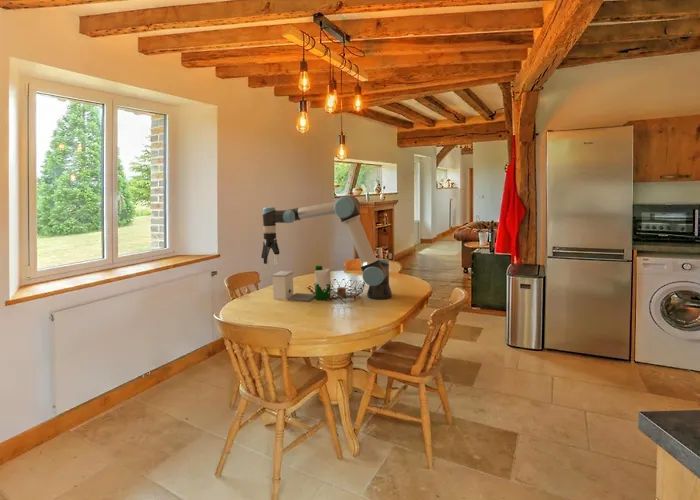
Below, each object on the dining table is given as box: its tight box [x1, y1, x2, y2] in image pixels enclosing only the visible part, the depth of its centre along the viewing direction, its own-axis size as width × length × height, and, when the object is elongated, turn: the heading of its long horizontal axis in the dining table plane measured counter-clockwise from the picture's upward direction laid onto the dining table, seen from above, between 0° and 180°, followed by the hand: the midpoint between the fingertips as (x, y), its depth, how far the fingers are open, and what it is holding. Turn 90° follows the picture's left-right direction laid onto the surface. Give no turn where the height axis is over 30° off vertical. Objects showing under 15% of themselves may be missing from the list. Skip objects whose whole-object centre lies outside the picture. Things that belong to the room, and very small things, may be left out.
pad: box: [286, 292, 316, 303], centre depth 268 cm, size 14×14×1 cm
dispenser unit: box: [271, 270, 295, 301], centre depth 270 cm, size 9×13×15 cm
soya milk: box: [314, 265, 332, 301], centre depth 264 cm, size 9×9×20 cm
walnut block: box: [336, 286, 347, 298], centre depth 271 cm, size 5×5×5 cm
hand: (271, 266), depth 271 cm, fingers open, 13 cm apart
